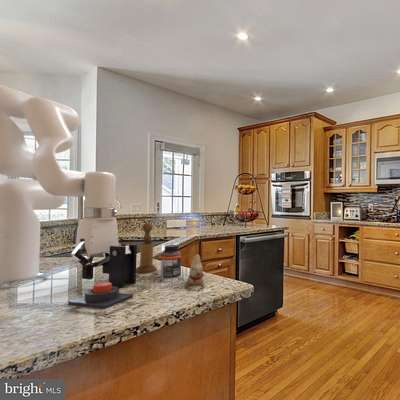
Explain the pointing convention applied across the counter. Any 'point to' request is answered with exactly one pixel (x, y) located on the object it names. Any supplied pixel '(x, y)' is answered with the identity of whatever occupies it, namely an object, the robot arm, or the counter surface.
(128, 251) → the lever
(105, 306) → the button box
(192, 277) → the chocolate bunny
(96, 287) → the button
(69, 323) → the counter surface
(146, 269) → the brown chess piece
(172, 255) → the supplement bottle
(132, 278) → the bracket
